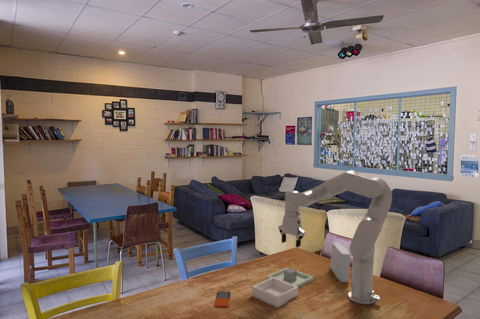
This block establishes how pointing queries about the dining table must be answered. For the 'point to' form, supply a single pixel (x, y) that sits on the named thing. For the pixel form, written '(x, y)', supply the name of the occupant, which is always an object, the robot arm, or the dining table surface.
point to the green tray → (300, 281)
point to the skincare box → (340, 262)
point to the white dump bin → (274, 292)
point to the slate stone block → (290, 275)
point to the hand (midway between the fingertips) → (290, 244)
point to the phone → (222, 299)
